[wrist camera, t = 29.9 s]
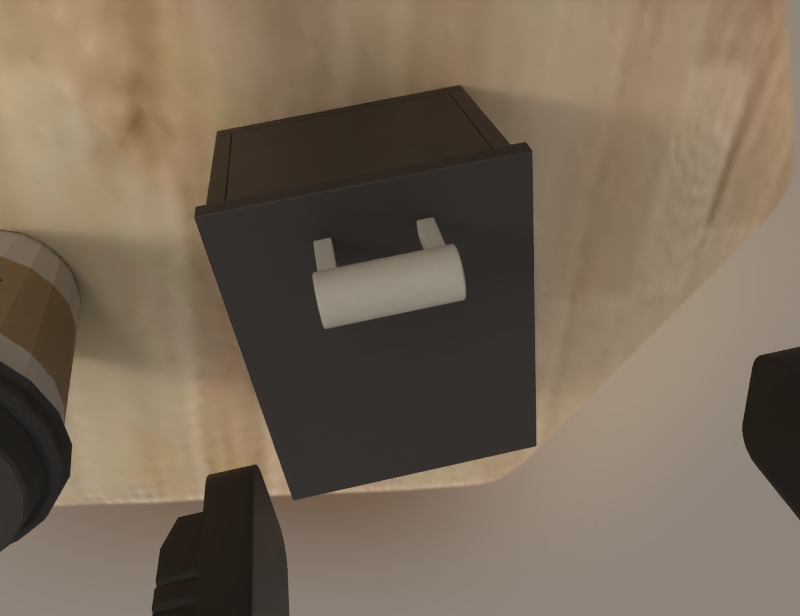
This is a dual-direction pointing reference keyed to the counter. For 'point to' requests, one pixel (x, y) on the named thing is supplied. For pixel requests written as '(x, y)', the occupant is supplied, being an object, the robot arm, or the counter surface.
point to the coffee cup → (33, 380)
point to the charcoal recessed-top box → (348, 143)
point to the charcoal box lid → (386, 315)
